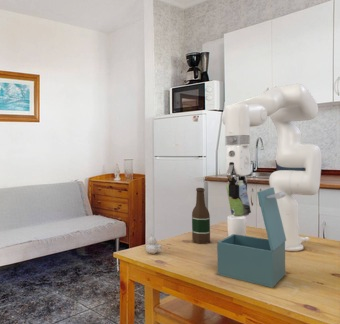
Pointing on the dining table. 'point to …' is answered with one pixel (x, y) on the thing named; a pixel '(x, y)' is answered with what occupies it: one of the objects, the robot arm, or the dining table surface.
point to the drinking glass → (236, 225)
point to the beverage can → (239, 201)
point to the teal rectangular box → (250, 260)
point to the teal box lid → (272, 216)
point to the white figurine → (152, 245)
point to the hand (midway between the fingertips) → (238, 195)
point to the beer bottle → (200, 219)
